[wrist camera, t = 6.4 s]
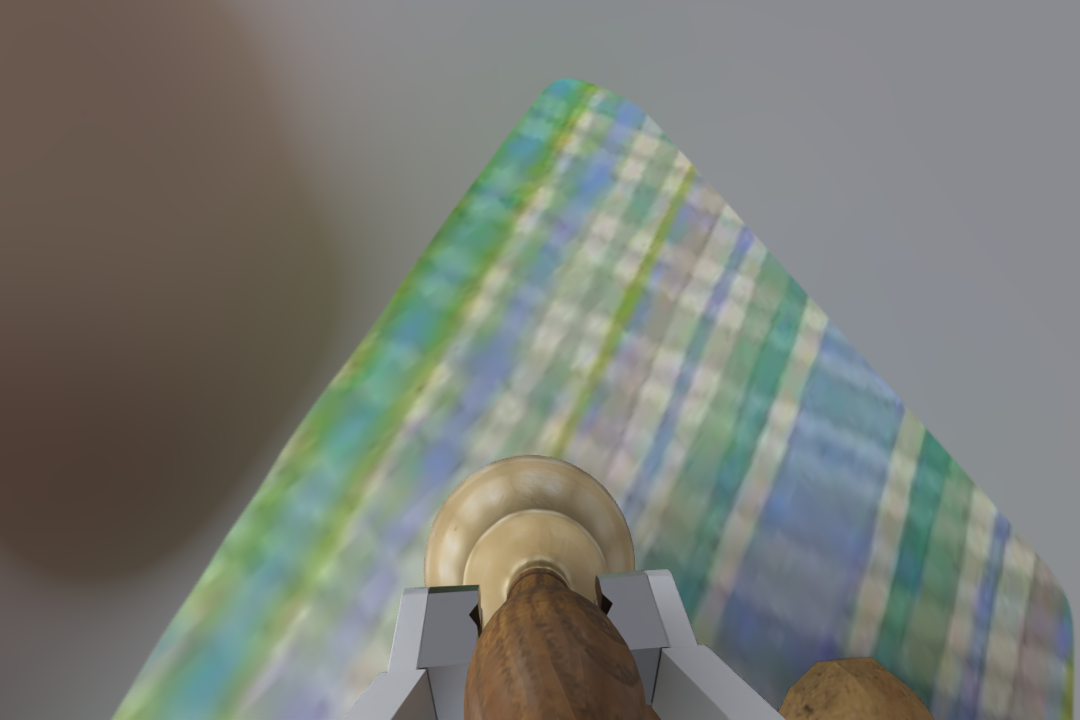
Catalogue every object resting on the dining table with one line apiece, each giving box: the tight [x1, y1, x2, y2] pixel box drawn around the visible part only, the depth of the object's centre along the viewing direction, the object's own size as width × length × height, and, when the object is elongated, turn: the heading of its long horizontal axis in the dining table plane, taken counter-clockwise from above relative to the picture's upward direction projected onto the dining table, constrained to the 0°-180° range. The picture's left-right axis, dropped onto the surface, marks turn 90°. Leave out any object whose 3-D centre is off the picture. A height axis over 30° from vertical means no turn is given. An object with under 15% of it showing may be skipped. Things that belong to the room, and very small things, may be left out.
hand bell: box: [424, 455, 647, 720], centre depth 12 cm, size 8×8×16 cm
